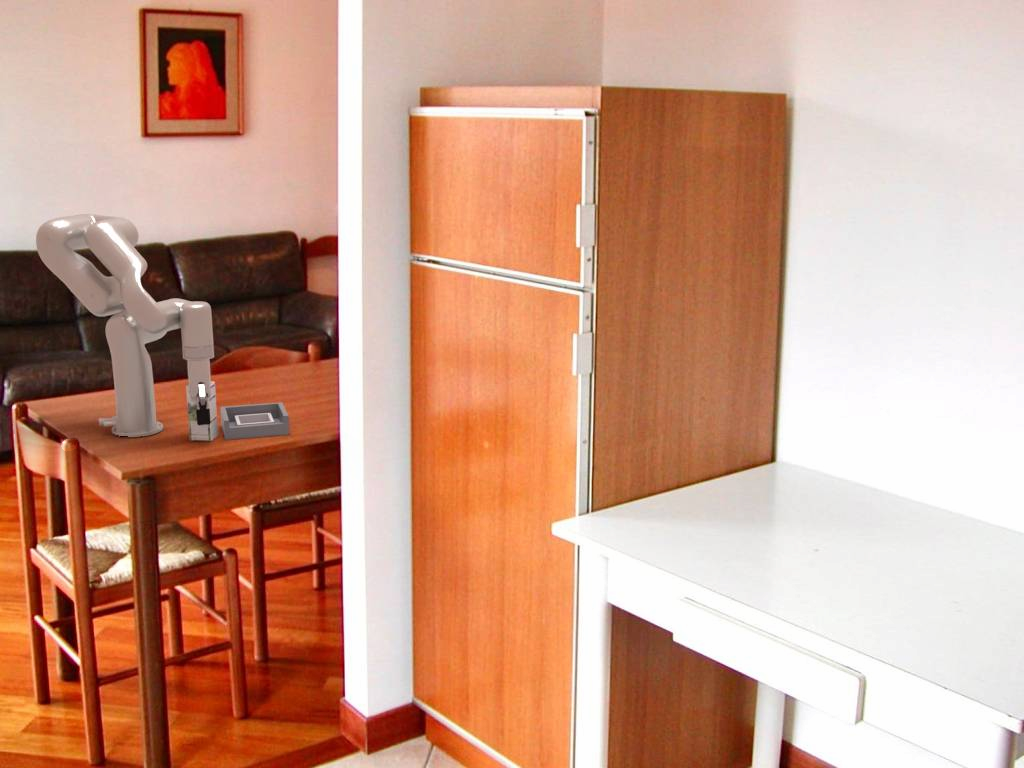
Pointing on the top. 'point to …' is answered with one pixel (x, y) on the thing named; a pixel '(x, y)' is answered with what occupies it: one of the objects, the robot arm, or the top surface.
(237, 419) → the walled box
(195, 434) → the syrup box
